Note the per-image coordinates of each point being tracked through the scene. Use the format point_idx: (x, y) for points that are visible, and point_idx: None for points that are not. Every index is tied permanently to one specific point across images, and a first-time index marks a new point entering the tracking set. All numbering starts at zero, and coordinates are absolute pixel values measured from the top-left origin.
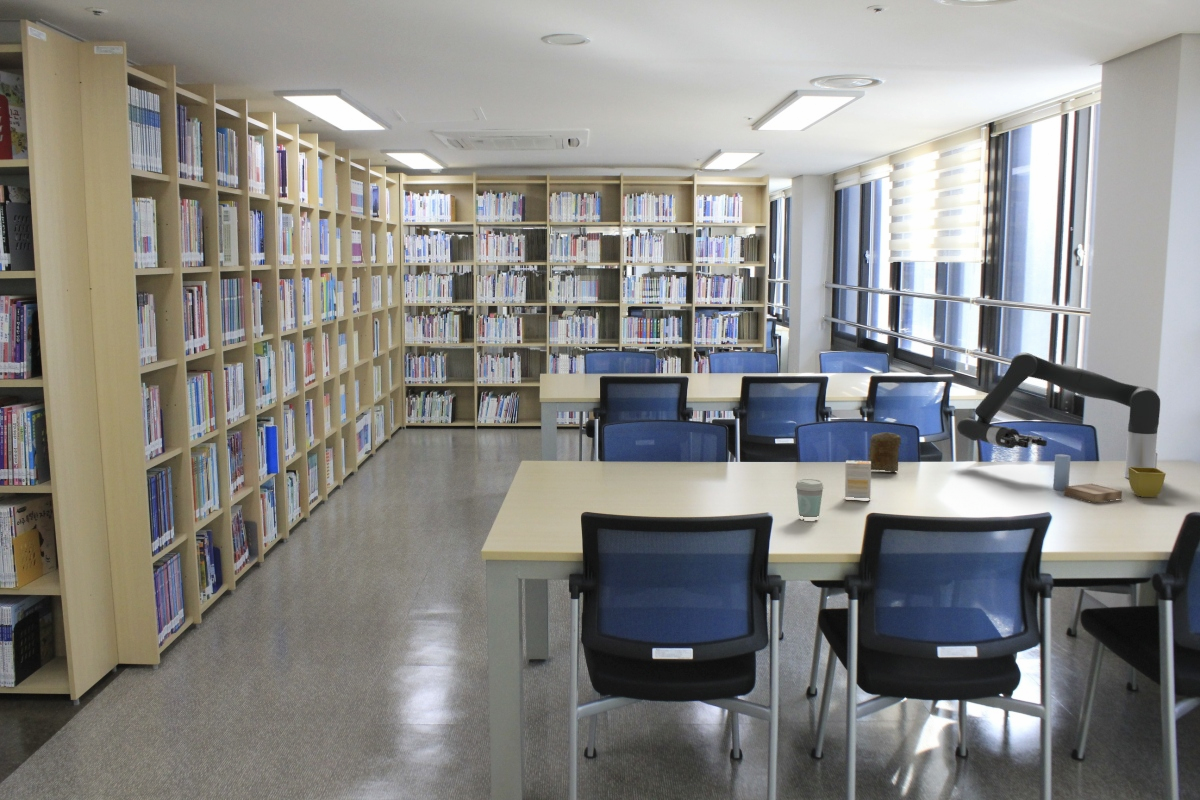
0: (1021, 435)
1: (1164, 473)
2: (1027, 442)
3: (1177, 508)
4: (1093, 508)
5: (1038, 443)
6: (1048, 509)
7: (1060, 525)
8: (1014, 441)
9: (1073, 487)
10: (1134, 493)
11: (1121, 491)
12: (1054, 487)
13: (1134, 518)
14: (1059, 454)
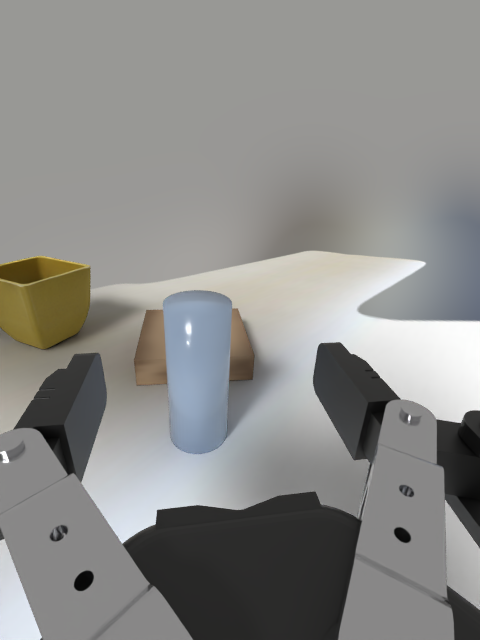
0: (184, 632)
1: (42, 256)
2: (329, 343)
3: (116, 291)
4: (269, 313)
5: (83, 450)
6: (368, 324)
7: (384, 287)
8: (449, 423)
9: (236, 345)
10: (50, 346)
11: (148, 311)
12: (226, 427)
13: (246, 283)
14: (188, 315)
